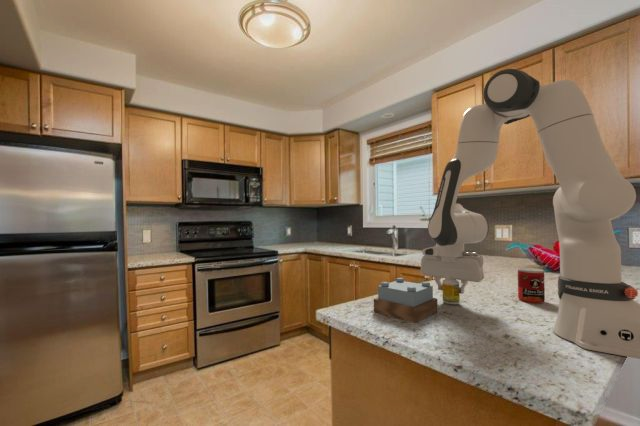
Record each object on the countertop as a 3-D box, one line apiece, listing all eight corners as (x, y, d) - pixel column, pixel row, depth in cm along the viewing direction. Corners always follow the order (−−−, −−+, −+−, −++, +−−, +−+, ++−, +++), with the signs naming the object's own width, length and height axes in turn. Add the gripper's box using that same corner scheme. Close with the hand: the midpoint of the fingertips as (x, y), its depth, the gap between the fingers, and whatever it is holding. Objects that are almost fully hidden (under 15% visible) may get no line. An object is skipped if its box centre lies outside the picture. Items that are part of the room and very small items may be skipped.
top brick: (432, 298, 93) (432, 282, 93) (413, 306, 85) (413, 289, 85) (398, 292, 102) (398, 277, 102) (378, 298, 93) (378, 282, 93)
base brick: (437, 311, 93) (437, 298, 93) (415, 322, 83) (415, 308, 83) (397, 302, 103) (397, 291, 103) (373, 311, 93) (373, 298, 93)
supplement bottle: (446, 299, 106) (446, 272, 106) (462, 302, 102) (461, 274, 102) (439, 302, 102) (439, 274, 102) (455, 305, 98) (455, 276, 98)
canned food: (522, 302, 102) (522, 270, 102) (514, 296, 110) (514, 266, 110) (549, 304, 100) (548, 271, 100) (539, 298, 108) (538, 267, 108)
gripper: (486, 252, 97) (487, 295, 97) (426, 248, 112) (427, 285, 112) (479, 254, 93) (480, 298, 92) (418, 249, 107) (418, 288, 107)
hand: (450, 291), depth 102 cm, fingers closed on supplement bottle, 5 cm apart
